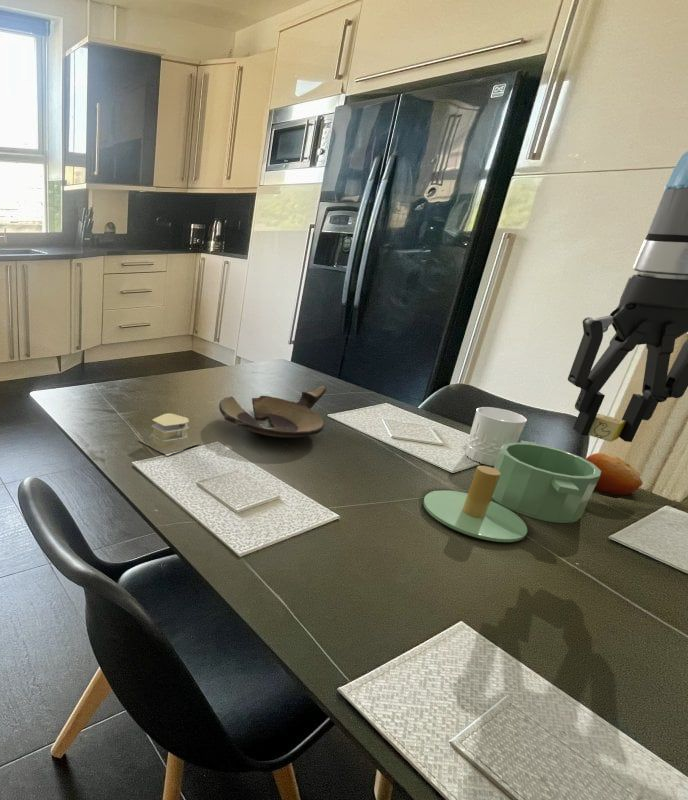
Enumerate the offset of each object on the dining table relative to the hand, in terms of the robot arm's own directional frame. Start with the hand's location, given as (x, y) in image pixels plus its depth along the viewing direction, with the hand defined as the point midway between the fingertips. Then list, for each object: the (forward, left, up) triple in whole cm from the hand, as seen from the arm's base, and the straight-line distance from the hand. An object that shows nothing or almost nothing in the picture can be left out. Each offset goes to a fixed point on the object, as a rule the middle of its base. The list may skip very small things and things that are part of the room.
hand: (601, 434), depth 73 cm
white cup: (+5, -23, -17) cm, 29 cm away
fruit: (-11, -17, -17) cm, 26 cm away
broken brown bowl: (+45, -19, -17) cm, 51 cm away
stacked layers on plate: (+66, -1, -17) cm, 68 cm away
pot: (+2, -7, -16) cm, 18 cm away
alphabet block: (0, 0, -1) cm, 1 cm away
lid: (+13, +4, -16) cm, 21 cm away
